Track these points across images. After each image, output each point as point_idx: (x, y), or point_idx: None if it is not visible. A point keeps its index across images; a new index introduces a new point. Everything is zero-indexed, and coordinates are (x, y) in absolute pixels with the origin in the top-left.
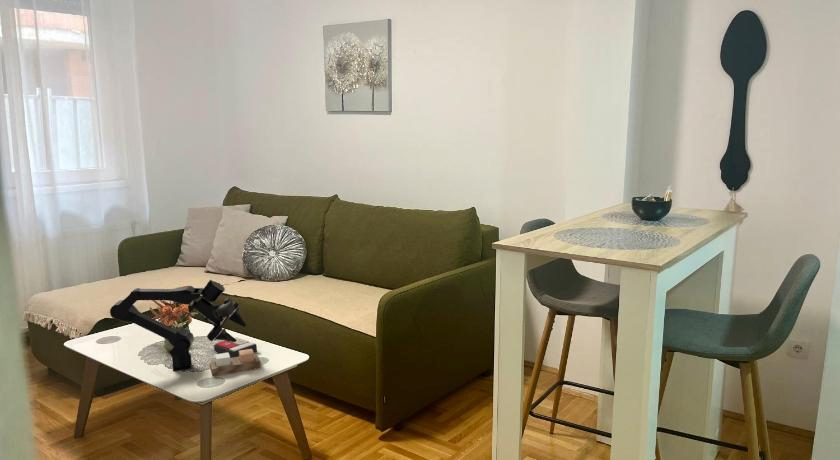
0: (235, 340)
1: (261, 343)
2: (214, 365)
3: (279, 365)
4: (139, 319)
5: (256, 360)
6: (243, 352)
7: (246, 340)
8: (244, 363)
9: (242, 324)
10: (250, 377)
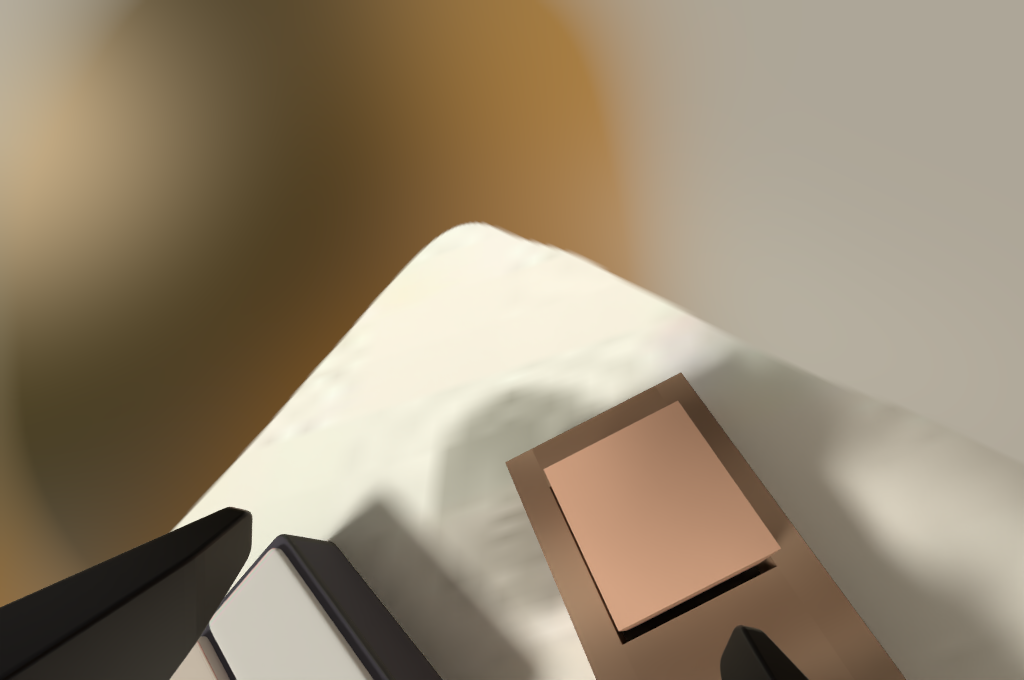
0: (775, 644)
1: None
2: None
3: (610, 290)
4: None
5: None
6: (673, 539)
7: None
8: (782, 511)
9: (200, 595)
10: (908, 425)
